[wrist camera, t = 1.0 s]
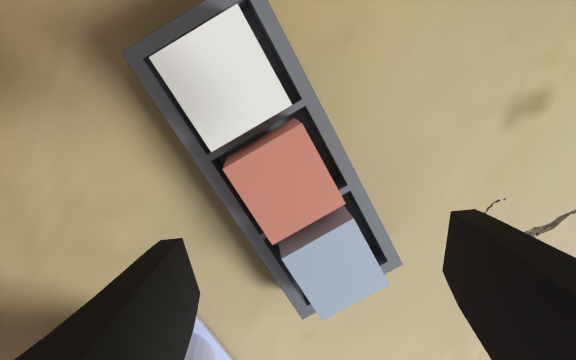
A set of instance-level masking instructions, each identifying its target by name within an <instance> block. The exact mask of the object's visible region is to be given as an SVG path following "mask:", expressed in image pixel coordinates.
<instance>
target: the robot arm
mask: <svg viewBox="0 0 576 360" xmlns="http://www.w3.org/2000/svg"><path fill="white" fill-rule="evenodd" d="M443 273H444V275H445V278H446V280H447V282H448V285H449V287H450V289H451V291H452V293H453V295H454V298H455V300H456V302H457V304H458V306H459V308H460V309H461V311H462V313H463V314H464V316H465V318H466V319H467V321H468V323H469V324H470V326H471V327H472V329H473V331H474V332H475V334H476V336H477V337H478V339H479V340H480V342H481V344H482V345H483V347H484V348H485V350H486V352H487V353H488V355H489V356H490V358H491V360H576V258H575V257H573V256H571V255H569V254H567V253H564V252H562V251H560V250H558V249H556V248H554V247H552V246H550V245H548V244H546V243H544V242H542V241H540V240H538V239H536V238H534V237H532V236H530V235H528V234H526V233H524V232H522V231H520V230H518V229H516V228H514V227H512V226H510V225H508V224H506V223H504V222H502V221H500V220H498V219H496V218H494V217H491V216H489V215H487V214H485V213H483V212H480V211H478V210H475V209H472V210H462V211H452V212H451V215H450V222H449V229H448V236H447V243H446V250H445V257H444V264H443ZM199 297H200V291H199V288H198V285H197V282H196V279H195V276H194V273H193V269H192V266H191V263H190V260H189V257H188V254H187V251H186V248H185V245H184V242H183V239H182V238H178V239H168V240H160V241H159V242H158V243H156V244H155V245H154V246H152V247H151V248H150V249H149V250H148V251H146V252H145V253H144V254H143V255H142V256H141V257H139V258H138V259H137V260H136V261H135V262H134V263H133V264H131V265H130V266H129V267H128V268H127V269H126V270H125V271H123V272H122V273H121V274H120V275H119V276H118V277H117V278H115V279H114V280H113V281H112V282H111V283H110V284H108V285H107V286H106V287H105V288H104V289H103V290H102V291H100V292H99V293H98V294H97V295H96V296H95V297H93V298H92V299H91V300H90V301H89V302H87V303H86V304H85V305H84V306H82V307H81V308H80V309H79V310H77V311H76V312H75V313H74V314H73V315H71V316H70V317H69V318H68V319H66V320H65V321H64V322H63V323H61V324H60V325H59V326H58V327H57V328H55V329H54V330H53V331H52V332H50V333H49V334H48V335H47V336H45V337H44V338H43V339H41V340H40V341H39V342H37V343H36V344H35V345H33V346H32V347H31V348H29V349H28V350H27V351H25V352H24V353H23V354H21V355H20V356H19V357H17V358H16V359H14V360H233V359H232V358H231V356H230V355H229V354H228V353H227V352H226V350H225V349H224V348H223V347H222V345H221V344H220V343H219V342H218V341H217V339H216V338H215V337H214V336H213V334H212V333H211V332H210V331H209V330H208V328H207V327H206V326H205V325H204V323H203V322H202V321H201V320H200V319H199V317H198V316H197V309H198V303H199Z"/></svg>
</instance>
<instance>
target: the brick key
mask: <svg viewBox="0 0 576 360" xmlns="http://www.w3.org/2000/svg"><path fill="white" fill-rule="evenodd" d="M223 171H224V172H225V174H226V175H227V177H228V179H229V180H230V182H231V183H232V185H233V186H234V188H235V189H236V191H237V192H238V194H239V195H240V197H241V198H242V200H243V201H244V203H245V204H246V206H247V207H248V209H249V210H250V212H251V214H252V215H253V217H254V218H255V220H256V221H257V223H258V224H259V226H260V227H261V229H262V230H263V232H264V233H265V235H266V236H267V238H268V239H269V241H270V242H271V244H272V245H274V244H276V243H277V242H279V241H281V240H283V239H284V238H286V237H288V236H290V235H291V234H293V233H295V232H297V231H299V230H300V229H302V228H304V227H306V226H307V225H309V224H311V223H313V222H315V221H316V220H318V219H320V218H322V217H323V216H325V215H327V214H329V213H330V212H332V211H334V210H336V209H338V208H339V207H341V206H343V205H345V204H346V203H345V201H344V199H343V198H342V196H341V194H340V192H339V190H338V188H337V187H336V185H335V183H334V181H333V179H332V177H331V176H330V174H329V172H328V170H327V168H326V166H325V164H324V163H323V161H322V159H321V157H320V155H319V153H318V152H317V150H316V148H315V146H314V144H313V142H312V140H311V139H310V137H309V135H308V133H307V131H306V129H305V128H304V126H303V124H302V123H301V122H300V121H298V120H297V119H295V118H293V119H291V120H290V121H288V122H286V123H284V124H283V125H281V126H279V127H278V128H276V129H274V130H272V131H271V132H269V133H267V134H266V135H264V136H262V137H260V138H259V139H257V140H255V141H254V142H252V143H250V144H248V145H247V146H245V147H243V148H242V149H240V150H238V151H236V152H235V153H233V154H231V155H230V156H228V157H227V158H226V161H225V164H224V166H223Z"/></svg>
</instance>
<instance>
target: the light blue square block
mask: <svg viewBox="0 0 576 360" xmlns="http://www.w3.org/2000/svg"><path fill="white" fill-rule="evenodd" d="M279 248H280V254H281V259H282V261H283V262H284V264H285V265H286V267H287V268H288V270H289V271H290V273H291V274H292V276H293V277H294V279H295V280H296V282H297V283H298V285H299V286H300V288H301V290H302V291H303V293H304V294H305V296H306V297H307V299H308V300H309V302H310V303H311V305H312V306H313V308H314V309H315V311H316V312H317V314H318V315H319V317H320V318H321V320H322V321H324V320H325V319H327V318H329V317H331V316H333V315H334V314H336V313H338V312H340V311H342V310H344V309H345V308H347V307H349V306H351V305H353V304H355V303H356V302H358V301H360V300H362V299H364V298H366V297H367V296H369V295H371V294H373V293H375V292H376V291H378V290H380V289H382V288H384V287H386V286H387V285H389V283H388V281H387V279H386V277H385V275H384V273H383V271H382V270H381V268H380V266H379V264H378V262H377V260H376V259H375V257H374V255H373V253H372V251H371V249H370V247H369V246H368V244H367V242H366V240H365V238H364V236H363V235H362V233H361V231H360V229H359V227H358V225H357V223H356V222H355V220H354V218H353V217H352V216H351V214H350V213H349V212H348V210H347V209H346V208H345V207H344V205H343V206H341V207H339V208H338V209H336V210H334V211H332V212H330V213H329V214H327V215H325V216H323V217H322V218H320V219H318V220H316V221H315V222H313V223H311V224H309V225H307V226H306V227H304V228H302V229H300V230H299V231H297V232H295V233H293V234H291V235H290V236H288V237H286V238H284V239H283V240H281V241H279Z"/></svg>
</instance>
